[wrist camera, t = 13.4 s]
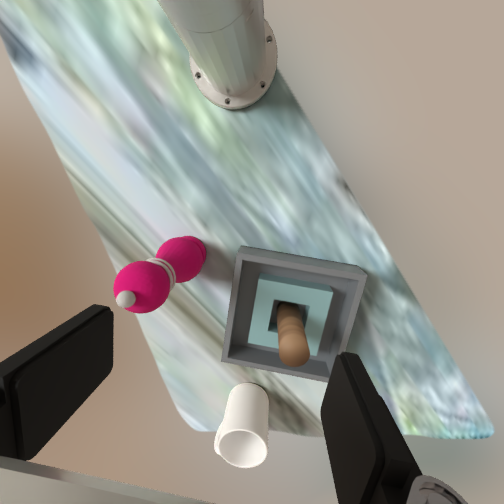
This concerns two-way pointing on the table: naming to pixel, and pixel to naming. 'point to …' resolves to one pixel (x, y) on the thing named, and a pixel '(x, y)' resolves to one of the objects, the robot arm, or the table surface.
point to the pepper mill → (158, 274)
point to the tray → (299, 270)
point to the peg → (291, 335)
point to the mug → (244, 427)
